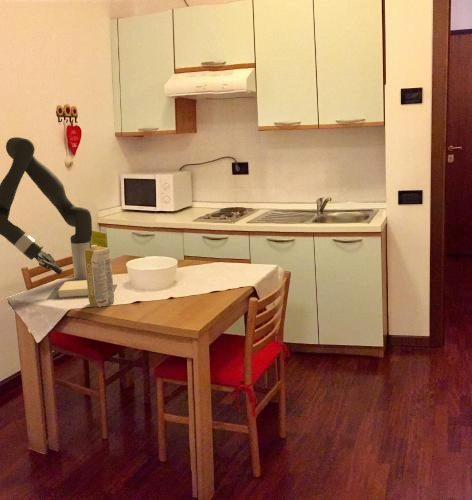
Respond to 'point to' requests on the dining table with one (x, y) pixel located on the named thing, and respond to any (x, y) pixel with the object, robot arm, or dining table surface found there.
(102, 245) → the food package
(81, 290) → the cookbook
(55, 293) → the mat
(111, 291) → the juice carton
